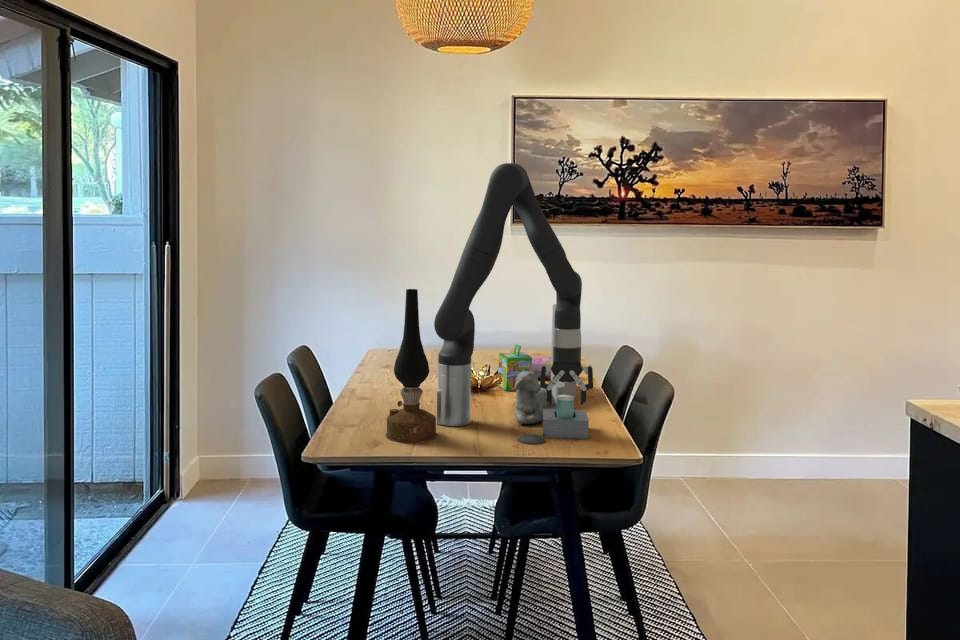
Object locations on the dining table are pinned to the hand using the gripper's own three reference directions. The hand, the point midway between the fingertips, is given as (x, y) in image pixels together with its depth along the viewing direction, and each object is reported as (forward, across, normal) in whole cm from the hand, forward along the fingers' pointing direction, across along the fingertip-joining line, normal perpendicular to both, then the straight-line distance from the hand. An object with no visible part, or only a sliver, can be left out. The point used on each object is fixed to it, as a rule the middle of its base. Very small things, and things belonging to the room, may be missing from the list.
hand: (566, 403), depth 230 cm
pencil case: (+8, -8, +71) cm, 72 cm away
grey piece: (+8, +1, +44) cm, 44 cm away
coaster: (+8, -9, -9) cm, 15 cm away
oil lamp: (+8, -41, -8) cm, 43 cm away
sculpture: (+8, -8, +15) cm, 19 cm away
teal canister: (+8, 0, 0) cm, 8 cm away
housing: (+8, 0, 0) cm, 8 cm away
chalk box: (+8, -16, +55) cm, 58 cm away
